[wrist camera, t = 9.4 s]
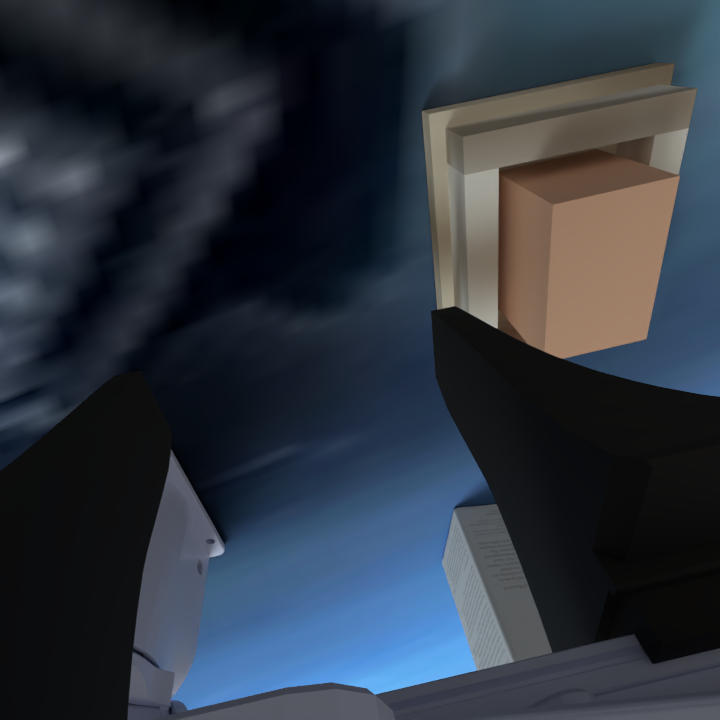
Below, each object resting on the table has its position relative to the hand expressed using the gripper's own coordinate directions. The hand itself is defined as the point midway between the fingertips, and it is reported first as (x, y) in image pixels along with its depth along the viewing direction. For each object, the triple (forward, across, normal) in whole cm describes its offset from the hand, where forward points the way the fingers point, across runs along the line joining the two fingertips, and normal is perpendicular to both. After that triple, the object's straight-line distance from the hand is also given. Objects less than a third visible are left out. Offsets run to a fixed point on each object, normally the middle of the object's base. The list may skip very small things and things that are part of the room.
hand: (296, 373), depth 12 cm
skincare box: (+10, -8, +22) cm, 26 cm away
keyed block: (+8, -10, +1) cm, 13 cm away
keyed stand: (+9, -10, +1) cm, 14 cm away
